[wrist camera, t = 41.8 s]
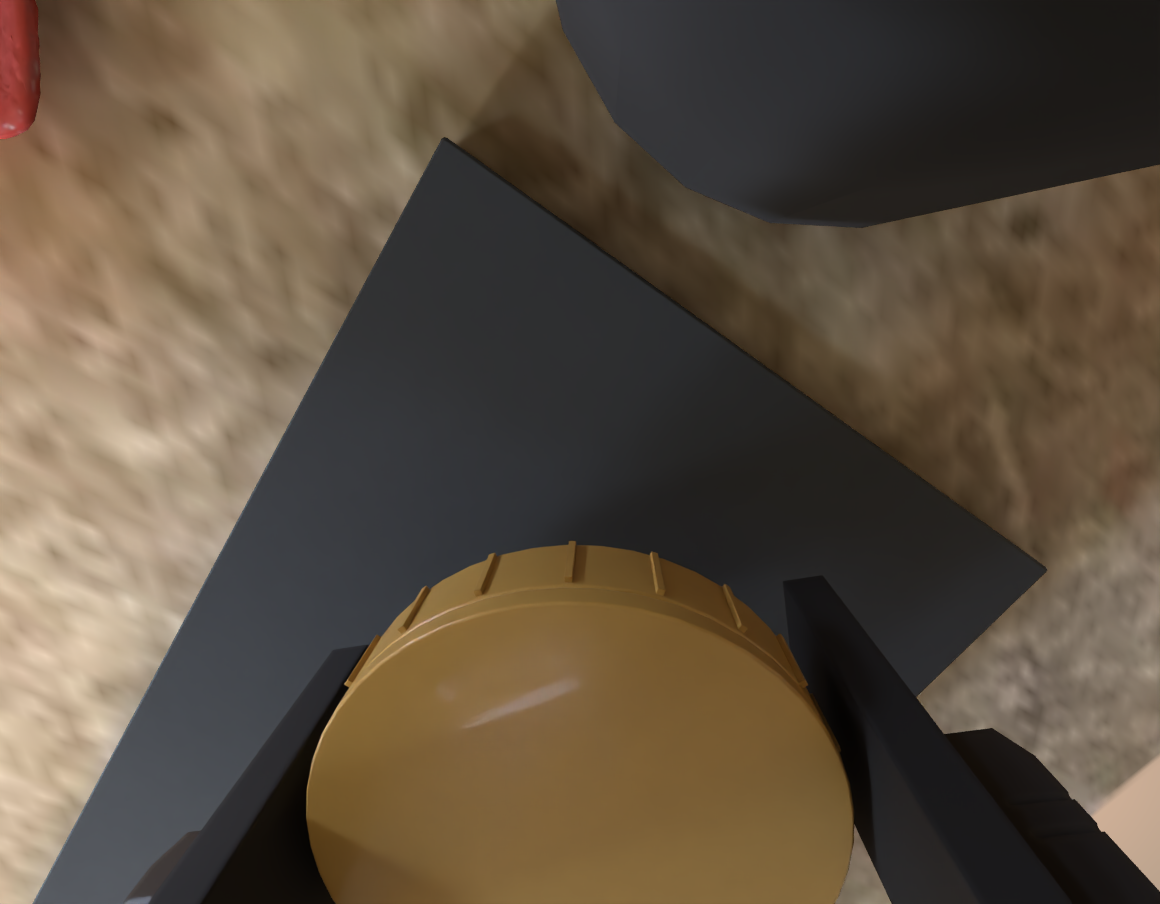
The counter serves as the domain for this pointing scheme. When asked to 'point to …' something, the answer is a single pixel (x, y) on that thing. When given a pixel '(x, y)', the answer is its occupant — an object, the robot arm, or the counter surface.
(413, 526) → the mat
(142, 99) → the counter surface
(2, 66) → the butter dish
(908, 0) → the coffee jar
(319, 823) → the lid
